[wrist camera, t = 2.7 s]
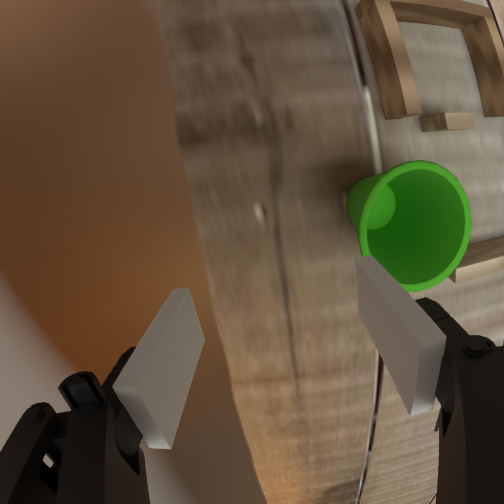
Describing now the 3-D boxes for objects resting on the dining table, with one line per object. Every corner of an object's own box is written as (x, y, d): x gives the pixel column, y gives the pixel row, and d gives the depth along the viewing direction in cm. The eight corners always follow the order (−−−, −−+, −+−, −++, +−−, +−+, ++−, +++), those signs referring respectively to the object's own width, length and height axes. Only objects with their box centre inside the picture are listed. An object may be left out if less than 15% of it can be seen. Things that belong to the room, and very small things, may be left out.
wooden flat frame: (355, 8, 22) (369, -13, 18) (502, 29, 20) (525, 20, 15) (402, 273, 31) (422, 292, 26) (531, 239, 28) (555, 250, 24)
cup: (403, 250, 30) (457, 294, 19) (321, 244, 30) (349, 291, 20) (415, 164, 27) (480, 173, 17) (330, 151, 27) (367, 150, 17)
